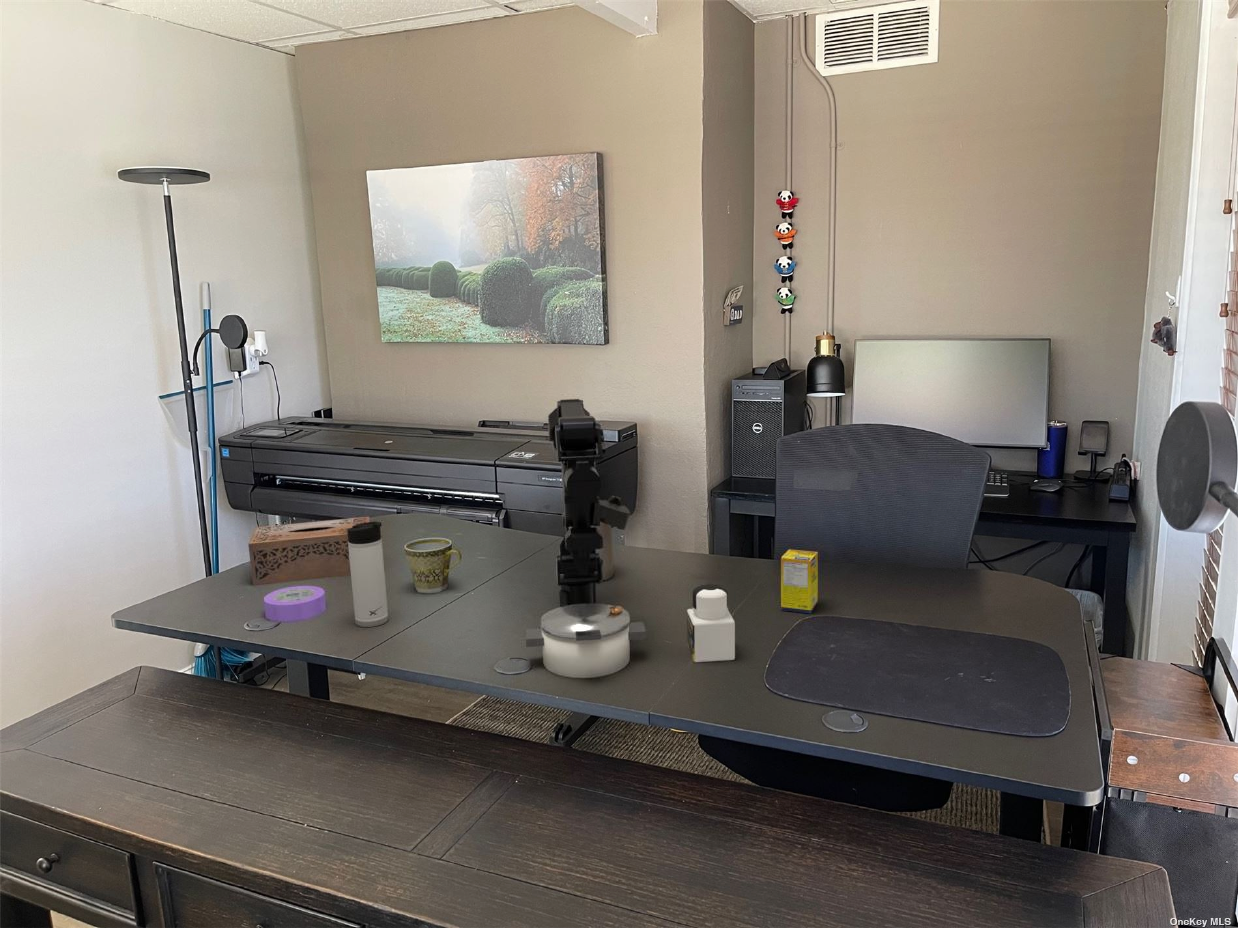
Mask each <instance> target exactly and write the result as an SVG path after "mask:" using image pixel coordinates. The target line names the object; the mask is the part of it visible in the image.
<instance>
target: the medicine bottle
mask: <svg viewBox="0 0 1238 928" xmlns="http://www.w3.org/2000/svg"><path fill="white" fill-rule="evenodd" d="M728 596H729V592H728V590H727V588H725V587H723V586H721V585H718V584H714V583H713V584H712V583H711V584H710V583H708V584H701V585H699V586H696V587H695V588H693V590H692V608H687V610H686V630H687V631H686V633H687V635H686V636H687V642H686V643H687V648H688V650H689V653H690V655H691V657H692V660H693V663H704V662H705V663H707V662H720V661H722V662H724V661H733V660H735V658H736V648H735V647H736V641H735V640H736V636H735V635H736V633H735V632H736V629H735V628H736V626H735V625H736V624H735V623H736V622H735V620H734V618H733V616H732V615H731V613H730V611H729V597H728Z"/></svg>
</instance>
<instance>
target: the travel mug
mask: <svg viewBox="0 0 1238 928" xmlns="http://www.w3.org/2000/svg"><path fill="white" fill-rule="evenodd" d="M382 524H383V523H382V522H379V521H370V522H367V523H361V524H357V525H354V526H352V528H350V529H347V535H348V544H349V545H348V548H349V559H350V570H351V575H350V578H351V580H350V581H351V586H352V587H351V588H352V589H351V590H352V598H353V599H352V600H353V609H354V621H355V624H356V625H357V626H358V627H363V628H372V627H373V628H374V627H377V626H382V625H384V624H386V622H388V621H389V612H388V610H389V609H388V600H387V599H388V598H387V589H386V585H387V584H386V575H385V564H384V552H383V541H382V539H383V538H382V534H381V533H382V532H381V528H382Z"/></svg>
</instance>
